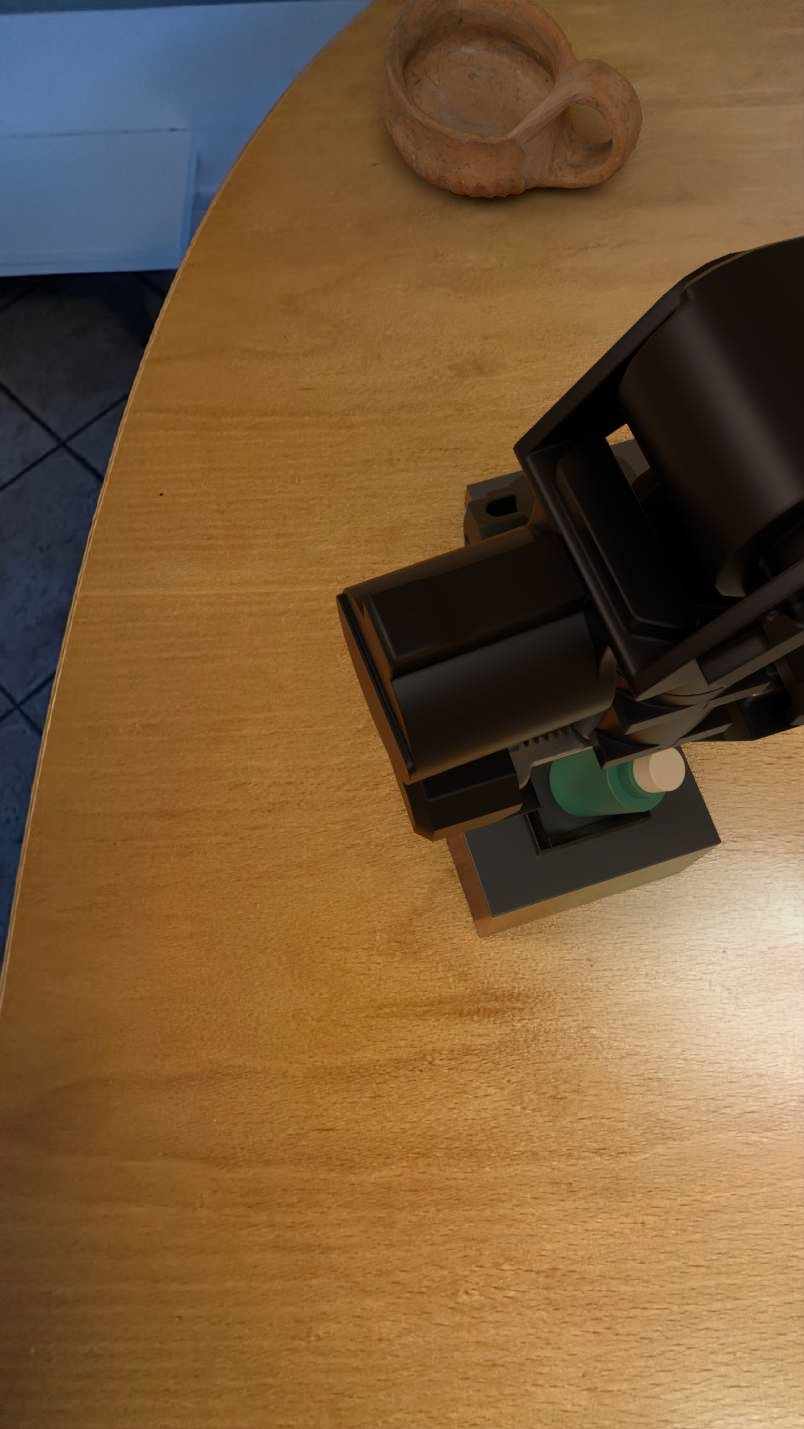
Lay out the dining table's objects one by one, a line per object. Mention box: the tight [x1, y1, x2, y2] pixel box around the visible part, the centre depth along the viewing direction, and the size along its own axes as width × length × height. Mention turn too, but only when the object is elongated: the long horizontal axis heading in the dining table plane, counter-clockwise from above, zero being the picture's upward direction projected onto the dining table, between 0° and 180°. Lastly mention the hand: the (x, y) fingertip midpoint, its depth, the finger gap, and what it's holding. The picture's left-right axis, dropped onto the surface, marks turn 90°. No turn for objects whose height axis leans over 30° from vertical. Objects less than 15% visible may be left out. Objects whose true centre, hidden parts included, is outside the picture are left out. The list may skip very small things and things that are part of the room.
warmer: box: [445, 724, 722, 939], centre depth 56 cm, size 12×10×9 cm
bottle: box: [550, 748, 685, 817], centre depth 49 cm, size 4×4×6 cm
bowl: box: [381, 0, 643, 199], centre depth 72 cm, size 18×14×10 cm
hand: (589, 754), depth 48 cm, fingers open, 7 cm apart
